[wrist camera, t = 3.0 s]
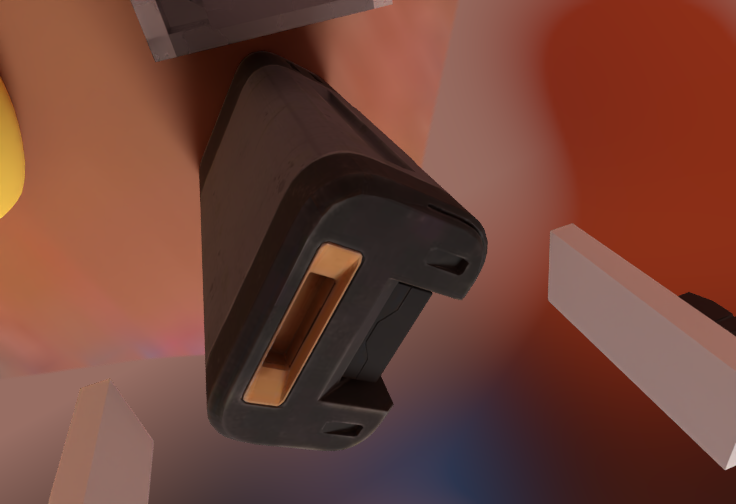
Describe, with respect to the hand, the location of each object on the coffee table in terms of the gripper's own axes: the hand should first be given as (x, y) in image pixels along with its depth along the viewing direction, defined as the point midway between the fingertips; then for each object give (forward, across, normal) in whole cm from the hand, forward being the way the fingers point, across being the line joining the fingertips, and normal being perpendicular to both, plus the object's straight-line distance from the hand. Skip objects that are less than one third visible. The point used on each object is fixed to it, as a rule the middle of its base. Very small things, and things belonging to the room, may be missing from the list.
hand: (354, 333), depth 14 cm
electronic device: (+20, 0, 0) cm, 20 cm away
